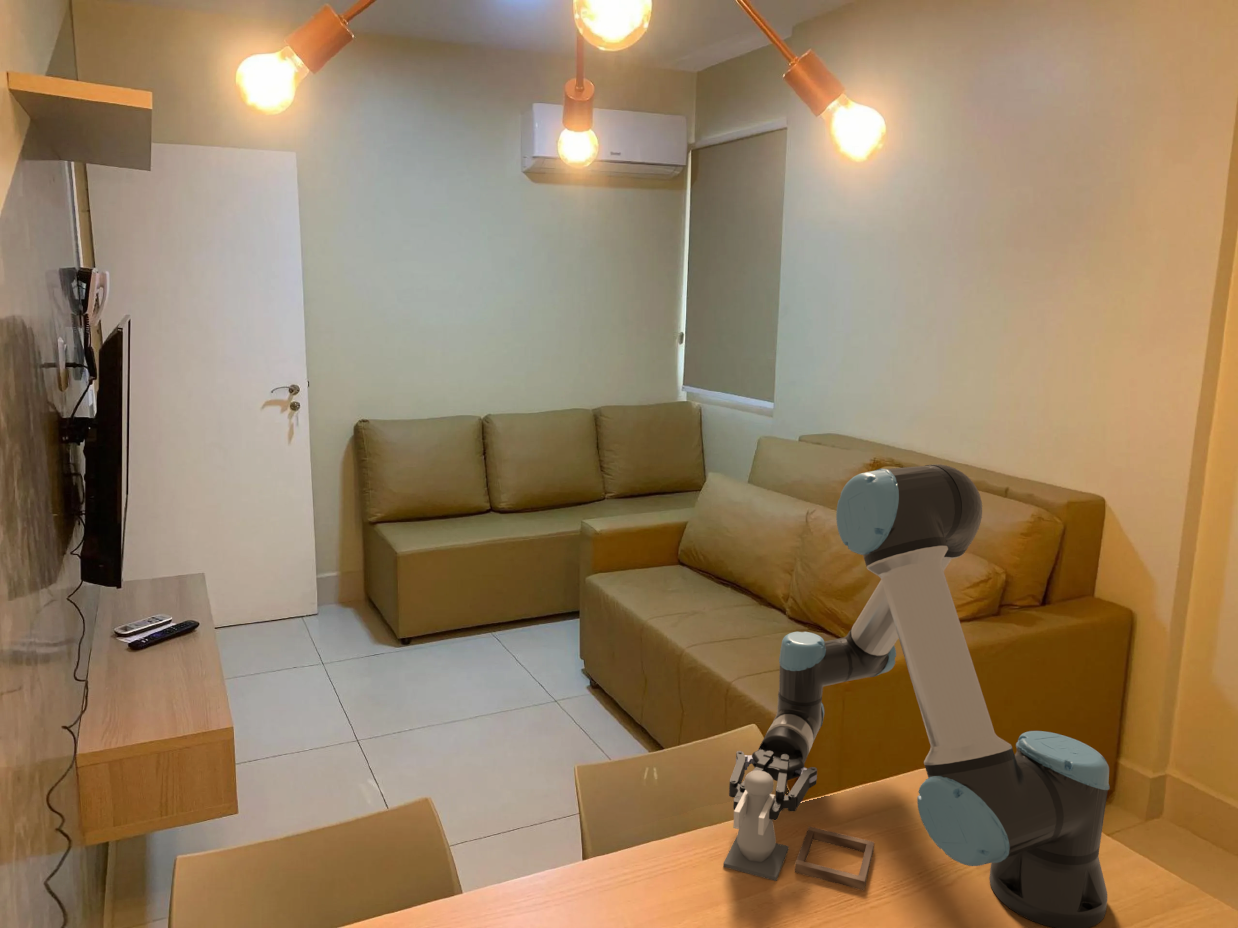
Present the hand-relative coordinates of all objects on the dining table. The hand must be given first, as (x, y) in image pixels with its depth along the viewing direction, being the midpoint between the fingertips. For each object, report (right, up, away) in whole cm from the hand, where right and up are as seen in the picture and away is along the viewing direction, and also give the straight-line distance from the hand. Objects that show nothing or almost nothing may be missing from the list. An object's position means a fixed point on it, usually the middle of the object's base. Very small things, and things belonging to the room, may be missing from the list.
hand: (748, 822), depth 130 cm
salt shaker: (+2, -7, +7) cm, 10 cm away
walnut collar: (+14, -8, +6) cm, 17 cm away
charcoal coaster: (+2, -8, +7) cm, 11 cm away
